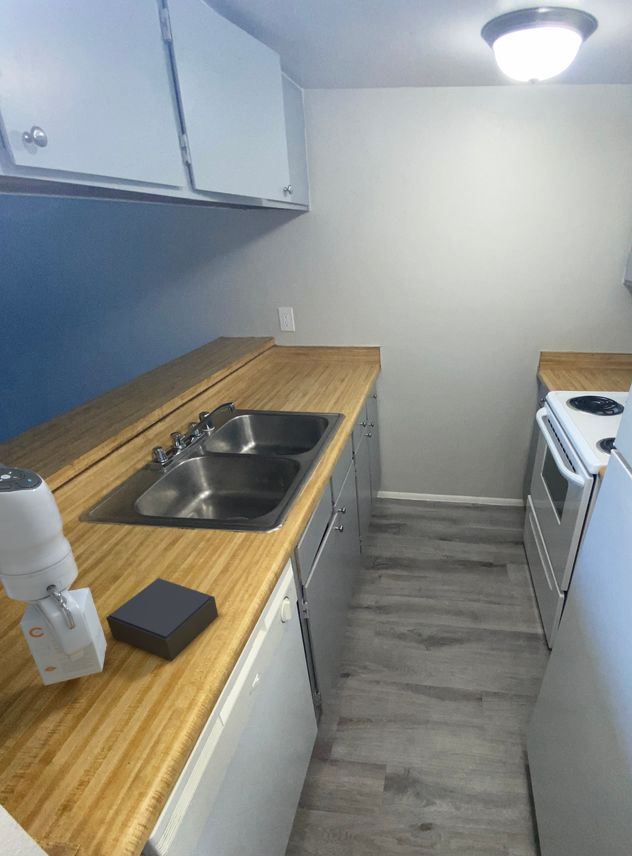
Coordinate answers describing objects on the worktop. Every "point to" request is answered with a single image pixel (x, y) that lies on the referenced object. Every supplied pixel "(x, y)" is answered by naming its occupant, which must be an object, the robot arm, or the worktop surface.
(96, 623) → the small box
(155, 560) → the worktop surface
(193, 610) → the dark gray box
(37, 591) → the robot arm
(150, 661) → the worktop surface
